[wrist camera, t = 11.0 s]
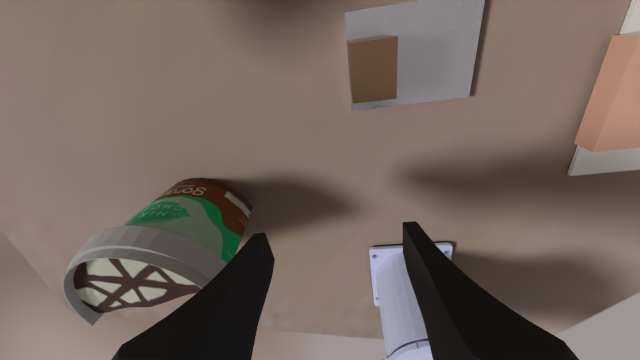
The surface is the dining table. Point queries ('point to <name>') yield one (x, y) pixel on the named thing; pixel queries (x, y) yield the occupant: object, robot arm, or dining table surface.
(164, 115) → the dining table surface
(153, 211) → the food container
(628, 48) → the tile
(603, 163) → the mat
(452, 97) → the turner
